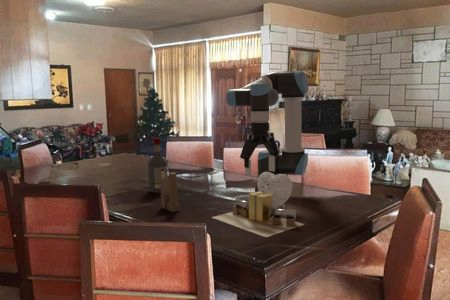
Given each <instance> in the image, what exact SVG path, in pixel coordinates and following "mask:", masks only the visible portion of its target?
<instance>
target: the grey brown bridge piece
mask: <svg viewBox="0 0 450 300" xmlns="http://www.w3.org/2000/svg"><path fill="white" fill-rule="evenodd" d="M272 216H273V226H280V225H281V222H282V218H285V219H286V226H288V227H294V225H295V222H296V218H297V210H296V209H287V208H284V209H283V208H280V209H279V208H274V209H273V207H270V209H269V217H270V218H272Z"/></svg>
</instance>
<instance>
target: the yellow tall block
mask: <svg viewBox="0 0 450 300" xmlns="http://www.w3.org/2000/svg"><path fill="white" fill-rule="evenodd" d="M248 202H249V219H250V220H253V221H256V222H259V223H262V224H263V223H266V222H270V221H273V216H272V218H270V217H269V209H270V207H273V195H271V194H267V193H263V192H255V191H254V192H250V193H248Z"/></svg>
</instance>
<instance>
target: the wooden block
mask: <svg viewBox="0 0 450 300" xmlns="http://www.w3.org/2000/svg"><path fill="white" fill-rule="evenodd" d="M177 177H178V175H177V172H168V180H167V178H163V179H160V186H161V193H160V203H161V209H164V210H167V211H169V212H171V213H176V212H179V211H180V203H179V202H178V180H177V179H178V178H177Z"/></svg>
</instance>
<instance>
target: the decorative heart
mask: <svg viewBox="0 0 450 300" xmlns="http://www.w3.org/2000/svg"><path fill="white" fill-rule="evenodd" d="M263 175H264V176H263ZM269 175H270V176H269ZM267 176H269V177H267ZM264 177H265V178H264ZM266 177H267V178H266ZM263 178H264V179H263ZM270 178H271V179H270ZM257 179H258V181H257V180H256V183H257V187H258V191H259V192H263V191H264V192H263V193H267V194H271V195H273V209H281V206H282V209H285V203H286V202H288V200H289V199H290V196H292V195H291V194H292V191H293V182H292V180H291V177H290V176H288V175H287V174H278V175H274V174H273V173H270V172H263V173H262V174H261V175H260V176H259V177H258V176H257ZM273 179H274V180H273ZM279 180H280V181H279ZM266 181H267V182H266ZM270 181H271V182H270ZM273 181H274V182H273ZM264 182H265V183H264ZM277 182H278V183H277ZM267 183H268V184H269V183H270V184H269V185H267ZM275 183H276V184H275ZM272 184H273V185H272ZM274 184H275V185H274ZM263 186H264V188H263ZM273 186H274V187H273ZM276 186H277V187H276ZM279 186H280V187H279ZM269 187H270V188H269ZM260 189H261V190H260ZM275 194H276V195H275Z"/></svg>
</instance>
